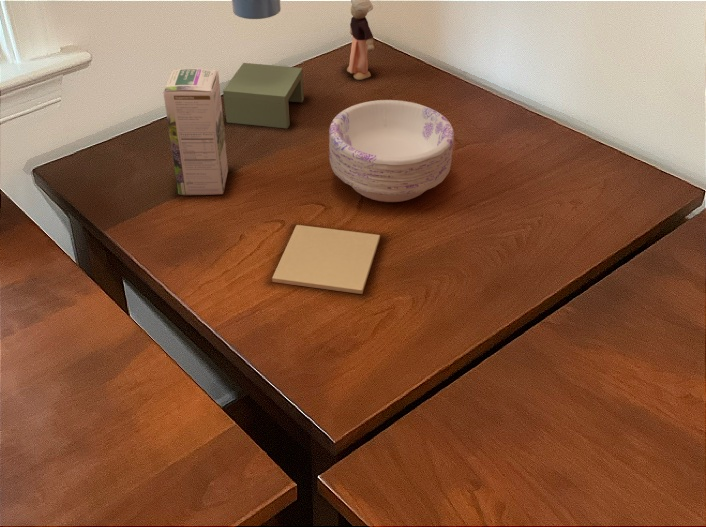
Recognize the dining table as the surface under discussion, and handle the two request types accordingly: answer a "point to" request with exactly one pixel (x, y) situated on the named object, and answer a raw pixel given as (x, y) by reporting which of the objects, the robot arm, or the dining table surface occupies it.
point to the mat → (327, 259)
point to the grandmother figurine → (360, 39)
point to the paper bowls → (390, 149)
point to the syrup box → (196, 131)
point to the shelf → (263, 94)
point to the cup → (256, 8)
